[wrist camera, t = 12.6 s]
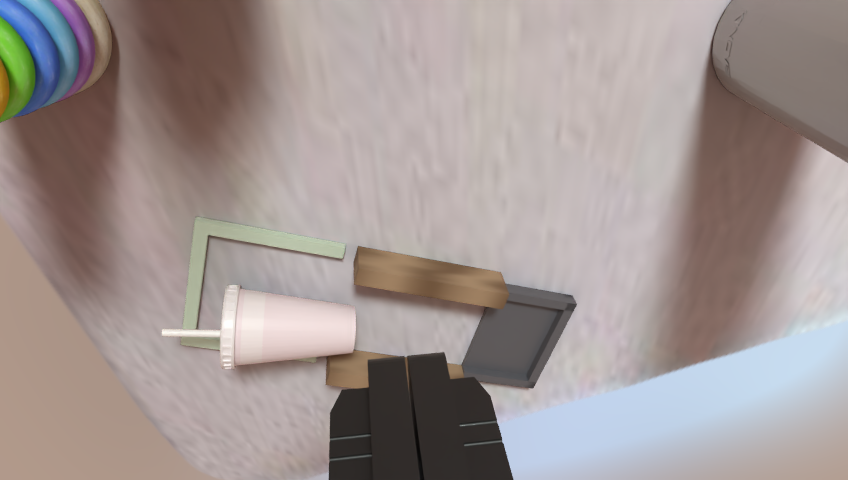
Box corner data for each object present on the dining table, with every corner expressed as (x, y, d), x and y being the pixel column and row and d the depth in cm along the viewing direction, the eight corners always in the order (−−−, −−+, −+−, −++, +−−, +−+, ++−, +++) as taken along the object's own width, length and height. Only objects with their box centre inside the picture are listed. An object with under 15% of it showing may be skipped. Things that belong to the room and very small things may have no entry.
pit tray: (572, 295, 52) (576, 304, 51) (529, 379, 57) (533, 388, 56) (496, 282, 50) (500, 290, 49) (459, 369, 55) (461, 379, 54)
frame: (345, 243, 46) (345, 248, 46) (315, 358, 52) (315, 362, 52) (196, 216, 44) (194, 220, 43) (182, 339, 50) (180, 344, 49)
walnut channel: (501, 272, 50) (509, 294, 47) (456, 377, 55) (461, 401, 53) (358, 246, 47) (358, 268, 44) (326, 359, 53) (325, 384, 50)
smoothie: (346, 360, 51) (168, 358, 48) (350, 284, 51) (173, 277, 48) (355, 379, 45) (151, 379, 41) (360, 293, 44) (156, 286, 41)
